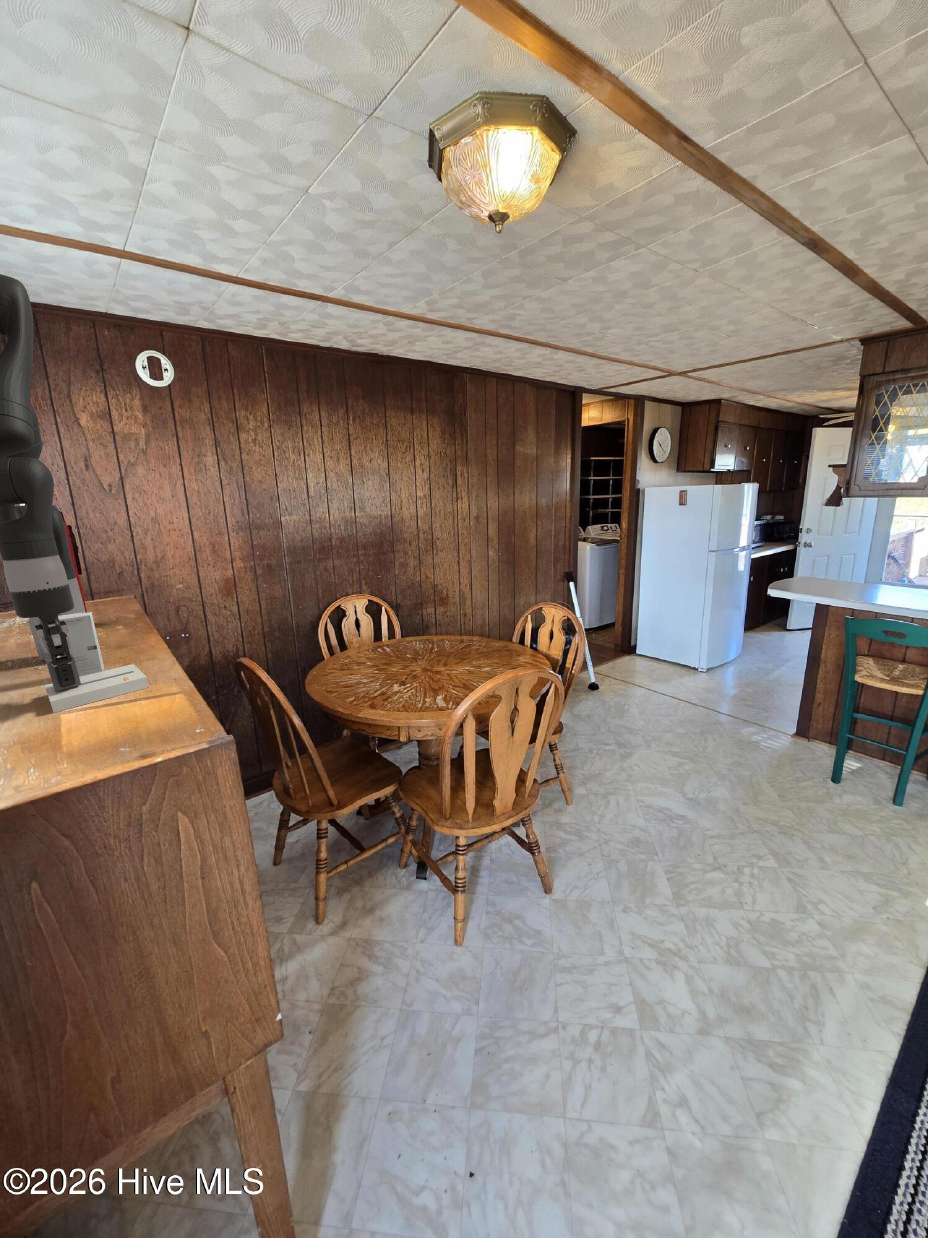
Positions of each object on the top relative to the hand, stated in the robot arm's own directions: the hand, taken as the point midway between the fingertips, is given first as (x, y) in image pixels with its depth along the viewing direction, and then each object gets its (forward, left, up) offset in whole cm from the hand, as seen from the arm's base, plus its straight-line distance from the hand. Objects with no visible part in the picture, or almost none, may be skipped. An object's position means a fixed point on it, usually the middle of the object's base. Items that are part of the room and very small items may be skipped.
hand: (66, 682), depth 85 cm
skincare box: (-7, +13, -3) cm, 15 cm away
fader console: (+3, +3, -3) cm, 5 cm away
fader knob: (0, 0, -1) cm, 1 cm away
